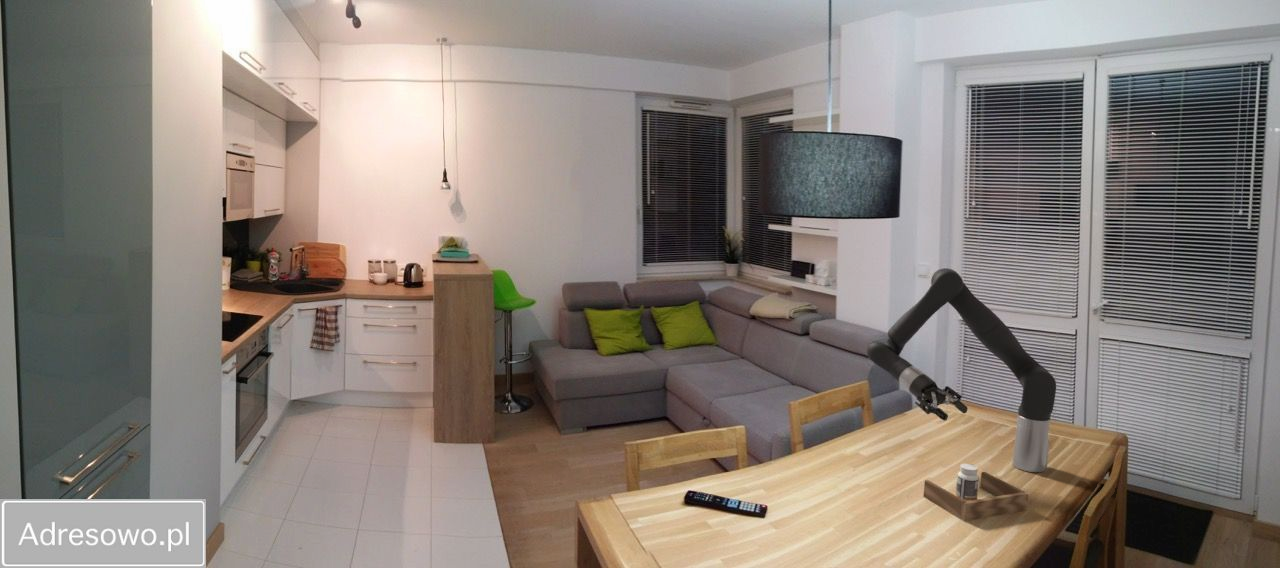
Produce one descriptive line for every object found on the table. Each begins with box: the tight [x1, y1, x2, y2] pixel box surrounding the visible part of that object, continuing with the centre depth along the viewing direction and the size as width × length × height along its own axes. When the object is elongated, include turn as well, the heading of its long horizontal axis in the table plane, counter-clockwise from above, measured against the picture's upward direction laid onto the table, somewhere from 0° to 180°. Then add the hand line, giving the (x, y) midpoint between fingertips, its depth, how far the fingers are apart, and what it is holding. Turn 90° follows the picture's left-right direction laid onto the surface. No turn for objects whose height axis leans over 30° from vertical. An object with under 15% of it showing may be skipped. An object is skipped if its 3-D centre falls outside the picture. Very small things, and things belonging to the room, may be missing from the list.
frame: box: [923, 471, 1029, 522], centre depth 209 cm, size 22×16×5 cm
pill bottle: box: [955, 463, 980, 501], centre depth 212 cm, size 6×6×10 cm
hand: (956, 414), depth 222 cm, fingers open, 8 cm apart
